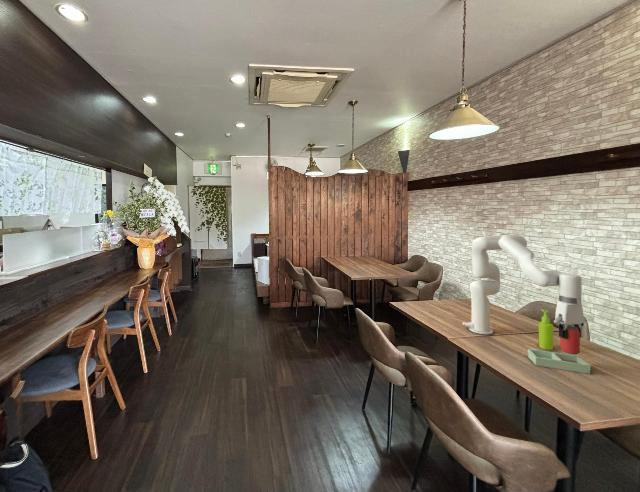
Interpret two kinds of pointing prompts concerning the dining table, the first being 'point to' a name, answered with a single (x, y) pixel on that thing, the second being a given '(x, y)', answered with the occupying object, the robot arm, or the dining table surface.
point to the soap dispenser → (546, 332)
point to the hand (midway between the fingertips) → (569, 336)
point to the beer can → (571, 340)
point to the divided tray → (558, 361)
